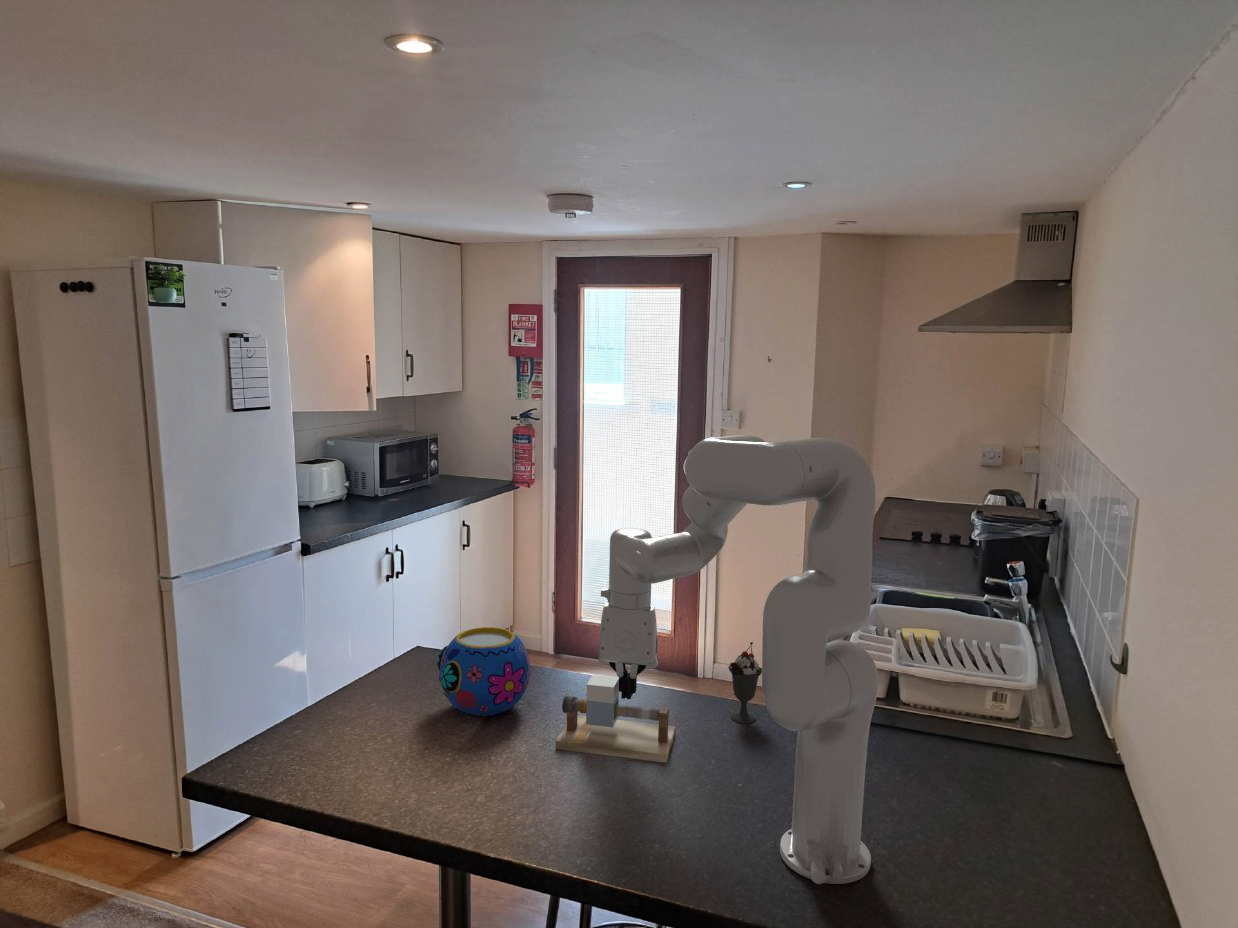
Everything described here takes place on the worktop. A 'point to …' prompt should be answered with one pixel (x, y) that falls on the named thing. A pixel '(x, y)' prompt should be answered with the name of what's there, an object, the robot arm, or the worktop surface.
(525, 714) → the worktop surface
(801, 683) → the robot arm
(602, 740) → the board
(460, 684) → the ceramic pot
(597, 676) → the sleeve
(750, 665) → the sundae
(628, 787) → the worktop surface
